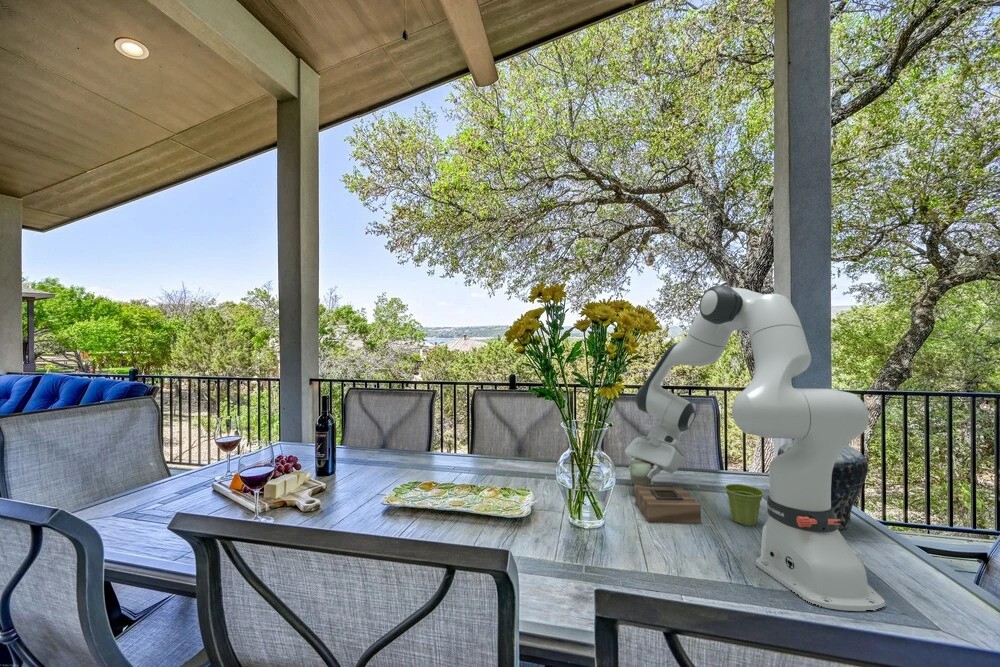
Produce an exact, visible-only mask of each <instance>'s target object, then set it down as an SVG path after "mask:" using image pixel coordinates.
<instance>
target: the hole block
mask: <svg viewBox="0 0 1000 667" xmlns="http://www.w3.org/2000/svg"><path fill="white" fill-rule="evenodd" d="M634 496H635V504H637V505H636V507H638V509H639V510H640V512H641V513H642V515H643V517H644V518H645V519H646V521H647V522H648V523H653V522H656V523H657V524H659V522H663V524H674V523H675V524H702V514H701V513H702V511H701V510H702V509H701V504H700V503H699V502H698V500H696V499H695V498H694V497H693V496H692V495H691V494H690V493H688V492H687V491H686V490H685V489H684V488H683V487H675V486H674V487H673V486H670V487H668V486H667V487H666V486H664V487H663V486H647V487H635V493H634Z"/></svg>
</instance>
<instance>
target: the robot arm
mask: <svg viewBox="0 0 1000 667" xmlns="http://www.w3.org/2000/svg"><path fill="white" fill-rule="evenodd" d="M800 320H801V319H800V317H799V315H798V314H797V311H796V309H795V308H794V305H792V302H791V301H790V300H789V298H787V297H786V296H784V295H783V294H779V293H766V294H763V293H760V292H756V291H752V290H750V289H747V288H741V287H733V286H731V287H730V286H729V285H714V286H710V287H708V289H706V291H705V292H704V293H703V294H702V295H701V298H700V301H699V312H698V313H697V315H696V317H695V318H694V320H693V321H692V324H691V325H690V327H689V330H688V332H687V334H686V336H685V337H684V338H683V339H682V340H681V341H680V342H675V343H672V344H671V345H670V346H669V347H668V349H667V350H666V351H665V352H664V353H663V355H662V356H661V357H660V359H659V360H658V361H657V362H658V363H656V364H655V367H654V368H653V370H652V371H651V373H650V374H649V376H648V377H647V379H646V380H645V382H644V383H643V384H642V386H641V387H640V388H639V389H638V390H637V392H636V394H635V398H634V401H635V404H636V407H637V408H638V410H639V411H641V412H644V413H646V414H648V415H650V416H652V417H655V418H656V419H658V422H656V423H655V424H654V425H653V427H652V428H651V430H650V431H649V433H648V434H647V436H646V435H640V436H637V437H636V438H634V439H633V440H632V441H631V442H630V443H629V445H627V447H626V448H625V450H624V454H625V455H626V456H627V458H629V459H630V461H632V460H644V461H647V462H650V463H651V471H650V472H649V471H647V473H646V474H645V476H646V477H647V478H648V479H651V480H653V478H654V476H656V475H658V474H659V473H661V472H662V471H663V472H667V473H670V474H673V473H675V472H676V471H677V470H678V469H679V467H680V466H681V464H682V462H683V457H685V456H686V455H687V453H688V451H687V450H686V448H685V447H684V446H683V445H682V444H681V443H680V438H681V436H682V435H683V434H684V433H685V432H686V431H688V430H689V428H690V427H691V426H692V424H693V422H694V421H695V418H696V415H697V414H696V411H695V406H694V405H693V403H692V402H690V401H689V400H687V399H685V398H684V397H681V396H679V395H677V394H675V393H673V392H671V391H669V390H667V389H665V388H663V387H662V383H663V381H664V379H665V378H666V376H667V375H668V374H669V373H670V370H672V368H673V367H674V366H689V367H690V366H691V367H705V366H710V365H713V364H714V363H716V362H717V361H718V360H719V359H720V358H721V356H722V355H723V353H724V350H726V347H727V345H728V343H729V340H730V338H731V336H732V334H733V333H734V332H735V331H736V330H738V331H744V332H747V333H748V336H749V342H750V345H751V350H752V354H753V360H754V361H753V362H754V372H753V376H752V379H751V382H750V383H748V386H746V388H744V389H743V390H741V391H740V392H739V393H738V394H737V395H736V397H735V399H734V400H733V402H732V406H731V415H732V419H733V421H734V423H735V424H736V426H737V427H738V429H739V430H740V431H741V432H743V433H744V434H747V435H752V436H757V437H761V438H766V439H788V440H789V439H790V440H791V439H792V440H794V439H795V441H794V444H793V445H792V447H791V448H790V449H789V450H788V451H786V452H785V453H782V454H780V455H778V456H775V457H773V459H772V460H771V461H770V463H769V466H768V486H769V495H768V496H767V500H766V507H767V509H766V510H767V514H768V518H767V520H766V522H765V523H764V525H763V527H762V532H761V534H762V535H761V545H760V546H761V548H760V556H758V557H757V558H755V566H757V567H758V568H759V569H761V570H762V571H763V572H765V573H766V574H767V575H769V576H770V577H772V578H773V579H774V580H776V581H777V582H779V583H780V584H782V585H783V586H785V587H786V588H787V589H789V590H790V591H791V590H792V592H793V593H794V592H795V593H794V594H795V595H797V594H798V595H799V597H800V598H801V597H802V598H801V599H803V600H804V601H805V600H806V602H807V601H808V602H807V603H809V602H810V603H809V604H811V603H812V604H811V605H813V604H816V605H815V606H817V605H819V606H818V607H821V606H822V608H826V609H831V610H839V611H845V612H849V611H850V612H851V611H852V612H853V611H854V612H867V611H866V610H871V609H876V608H879V607H882V606H884V605H886V600H885V599H884V598H883V597H882V596H881V595H879V593H878V592H877V591H875V589H874V588H872V587H871V586H870V585H869V583H868V577H867V571H866V568H865V561H864V558H863V556H862V555H861V554H858V553H855V552H854V550H853V548H852V547H851V546H850V545H849V543H848V542H847V540H846V538H844V536H843V535H842V534H841V532H840V530H839V529H838V528H839V526H838V525H841V524H840V523H837V521H841V520H840V519H836V518H837V517H836V514H835V512H834V509H833V507H832V506H831V479H832V471H833V467H834V464H835V462H836V459H837V458H838V456H839V454H840V453H841V451H842V450H843V449H844V447H845V446H846V445H849V444H850V443H851V442H852V441H854V440H855V439H856V438H858V437H860V436H861V435H862V434H863V433H864V432H865V431H866V429H867V427H868V424H869V421H870V420H869V419H870V417H869V416H870V415H869V410H868V408H867V406H866V404H865V403H864V401H863V400H862V399H861V397H859V396H858V395H856V394H855V393H852V392H847V391H843V390H838V389H831V388H798V387H796V388H795V387H793V385H792V380H791V379H793V378H794V377H797V376H799V375H800V374H802V373H803V372H805V371H806V370H807V369H808V368H809V367H810V364H811V362H812V355H811V351H810V347H809V346H808V342H807V338H806V335H805V332H804V328H803V326H802V323H801V321H800ZM627 469H628V471H629V472H630V465H629V467H628V468H627ZM798 595H797V596H798Z"/></svg>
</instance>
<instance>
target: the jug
mask: <svg viewBox="0 0 1000 667" xmlns="http://www.w3.org/2000/svg"><path fill="white" fill-rule="evenodd" d="M794 441H795V439H792V440H791V439H790V440H789V441H787V442H785V443H784V444H782V445H781V446H780V447H779V449H778V451H777V456H778V455H780V454H782V453H785V452H786V451H788V450H789V449H790V448H791V447H792V445H793V444H794ZM867 460H868V459H866V457H865V455H863V454H862V453H861V452H860V451H859V450H858V449H856V448H854V447H852V446H851V445H849V444H847V445H846V446H845V447H844V449H843V450H842V451H841V453H840V454H839V456H838V458H837V459H836V462H835V464H834V467H833V471H832V479H831V506H832V507H833V509H834V512H835V514H836V517H837V518H836V519H840V520H841V521H837V523H840V524H841V525H838V526H839V528H838V530H839V529H840V530H841V529H846V528H847V527H849V525H850V521H851V515H852V514H851V512H852V508H853V506H854V503H855V501H856V499H857V498H858V496H859V493H860V492H861V491H862V488H863V486H864V483H865V482H866V477H867V474H868V468H869V467H868V466H869V465H868V461H867Z"/></svg>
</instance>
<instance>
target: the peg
mask: <svg viewBox="0 0 1000 667" xmlns="http://www.w3.org/2000/svg"><path fill="white" fill-rule="evenodd" d="M629 466H630V471H629V472H630V478H629V479H630V482H632V483H633V486H634V487H633V488H634V494H635V487H648V485H650V484H651V483H652V479H648V478H647V477H646V476H645V474H646V473H647V471H649V472H650V471H651V470H652V466H651V463H650V462H647V461H644V460H632V461H631V460H630V461H629Z"/></svg>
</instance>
